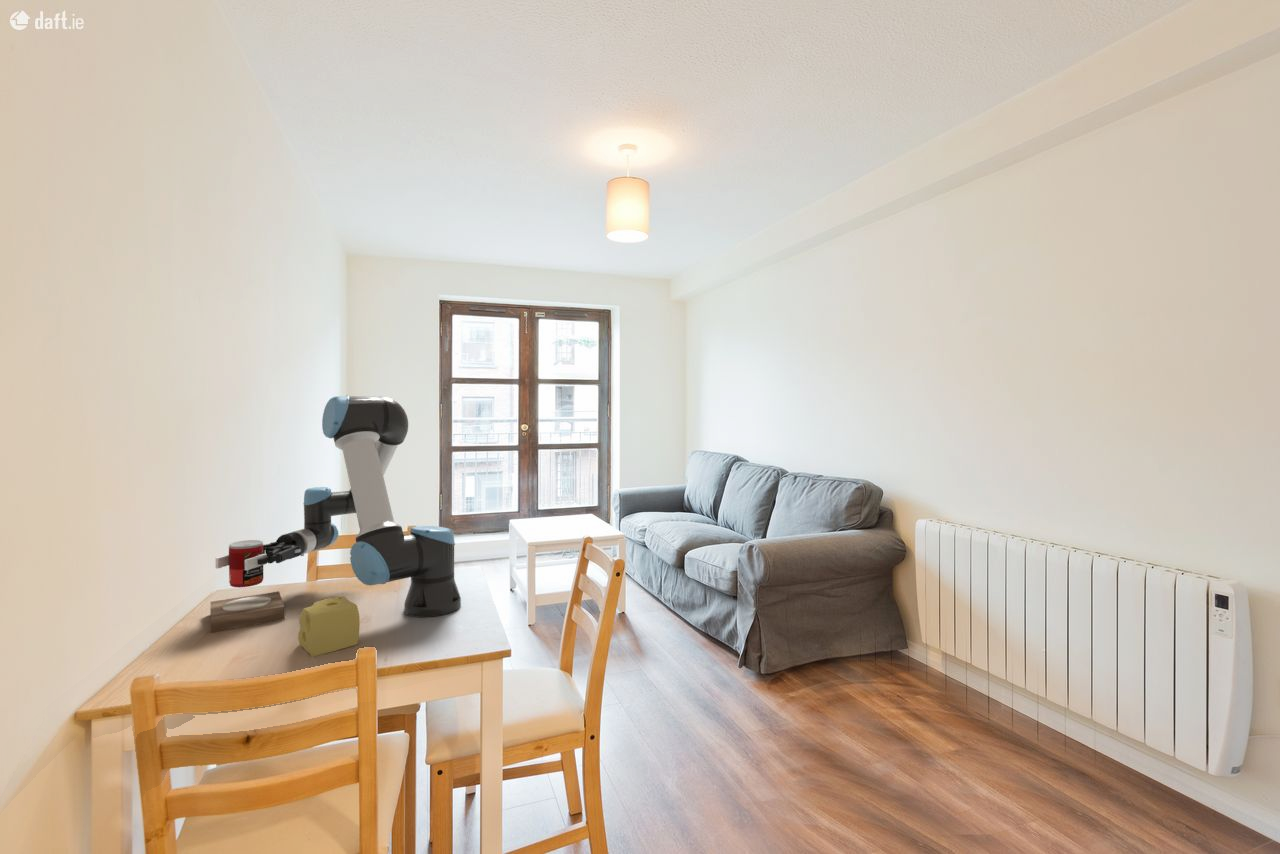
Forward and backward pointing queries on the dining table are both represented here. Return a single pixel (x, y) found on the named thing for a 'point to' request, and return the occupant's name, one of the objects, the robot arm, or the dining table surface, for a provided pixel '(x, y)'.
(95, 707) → the dining table surface
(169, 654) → the dining table surface
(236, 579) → the canned food
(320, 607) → the cheese
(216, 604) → the stand
